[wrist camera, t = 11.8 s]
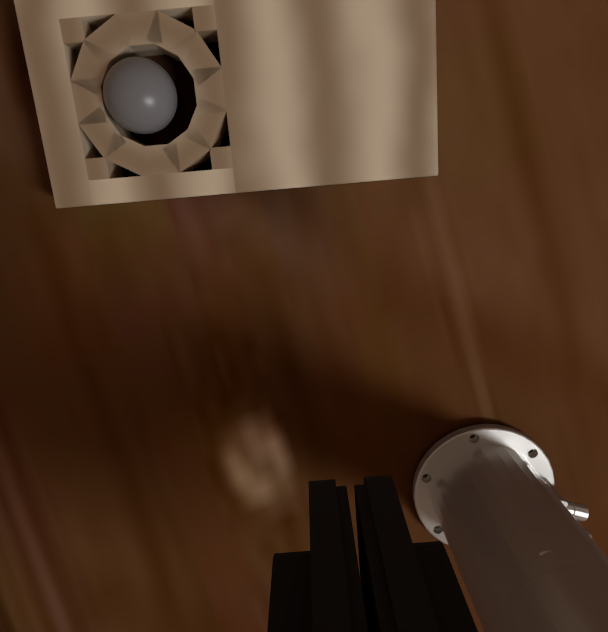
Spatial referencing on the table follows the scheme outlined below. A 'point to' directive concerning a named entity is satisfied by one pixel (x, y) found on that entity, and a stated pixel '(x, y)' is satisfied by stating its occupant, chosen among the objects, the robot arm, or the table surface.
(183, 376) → the table surface
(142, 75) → the ball
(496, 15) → the table surface
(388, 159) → the beige flat board
